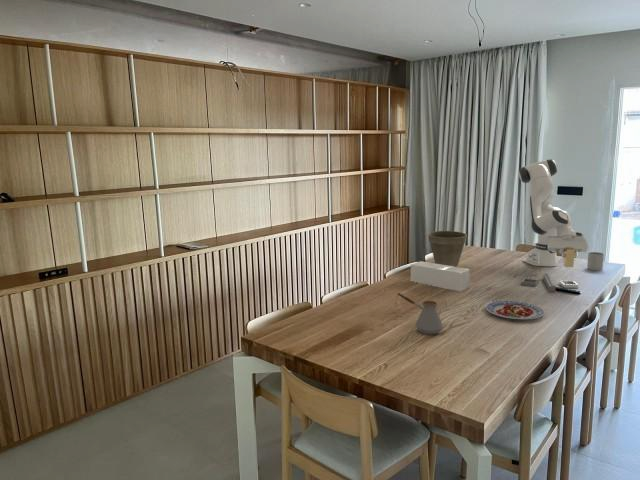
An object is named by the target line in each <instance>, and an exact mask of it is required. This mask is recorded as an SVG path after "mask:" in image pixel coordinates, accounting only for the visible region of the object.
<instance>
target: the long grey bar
mask: <svg viewBox="0 0 640 480" xmlns="http://www.w3.org/2000/svg"><path fill="white" fill-rule="evenodd" d="M542 277H543V281H544V283H545V286H546V287H547V290H548V292H549V293H550V292H553V293H555V292H556V285H555V283H554V281H553V279H552V276H551V275H550V274H549V273H543V276H542Z"/></svg>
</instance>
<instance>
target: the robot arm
mask: <svg viewBox="0 0 640 480" xmlns="http://www.w3.org/2000/svg"><path fill="white" fill-rule="evenodd" d="M518 171H519V172H518V177H519V180H520V181H521V182H522V183H523V184H530V185H531V190H532V191H531V195H530V197H529V204H530V205H529V206H530V214H531V215H530V216H531V222H530V223H531V229H532V231H533V232H534V233H535V234H537V242H536V243H534V246H535V248H534V247H533V248H532V249H531V250H529V251H528V252H527V254H526V258H523V259H522V262H525V263H526V264H529V265H532V266H535V267H536V266H537V267H557V266H558V261H557V259H558V257H557V252H558V253H559V254H560V256H561V258H564V257H566V254H565V253H564V252H565V248H566V247H572V248H574V249H575V253H574V259H576V258H577V253H587V251H588V250H589V245H588V242H587V239H586V238H585V234H584V233H582V232H579V231H575V229H573V226H574V225H573V220H572V218H571V215H570V214H569V211H566V210H564V209H562V208H559V207H558V206H557V207H556V206H553V205H552V199H553V198H554V192H553V190H554V181H553V179H552V177H553V176H554V175H556V174H557V173H558V164H557V163H556V161H555V160H554V159H552V158H549V159H545V160H540V161H536V162H535V163H531V164H528V165H526V166H522V167H520V168H519V170H518Z"/></svg>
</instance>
